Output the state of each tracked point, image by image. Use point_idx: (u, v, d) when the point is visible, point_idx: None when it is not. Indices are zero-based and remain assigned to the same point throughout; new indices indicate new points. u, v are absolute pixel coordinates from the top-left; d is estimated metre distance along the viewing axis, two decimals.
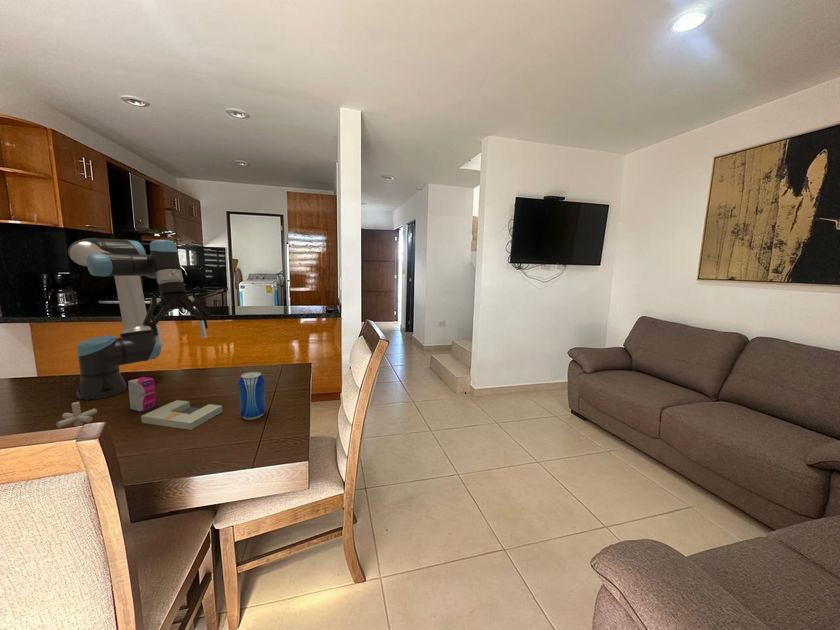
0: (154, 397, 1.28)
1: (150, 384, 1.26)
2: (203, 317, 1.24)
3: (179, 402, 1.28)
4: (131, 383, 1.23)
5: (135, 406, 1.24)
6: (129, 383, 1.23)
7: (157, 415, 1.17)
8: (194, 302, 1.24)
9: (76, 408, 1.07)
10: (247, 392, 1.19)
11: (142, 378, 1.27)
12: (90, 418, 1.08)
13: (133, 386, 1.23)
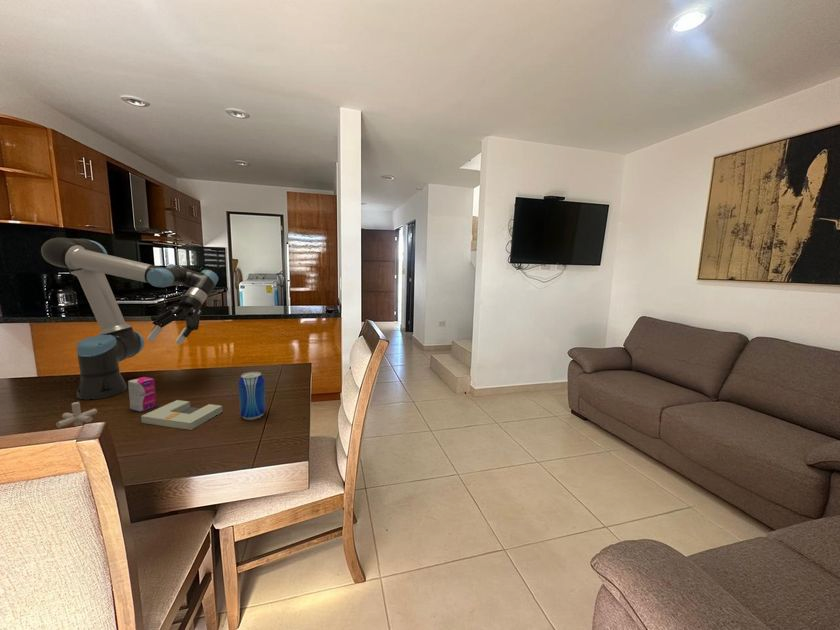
0: (154, 397, 1.28)
1: (150, 384, 1.26)
2: None
3: (179, 402, 1.28)
4: (131, 383, 1.23)
5: (135, 406, 1.24)
6: (129, 383, 1.23)
7: (157, 415, 1.17)
8: (171, 313, 1.43)
9: (76, 408, 1.07)
10: (247, 392, 1.19)
11: (142, 378, 1.27)
12: (90, 418, 1.08)
13: (133, 386, 1.23)
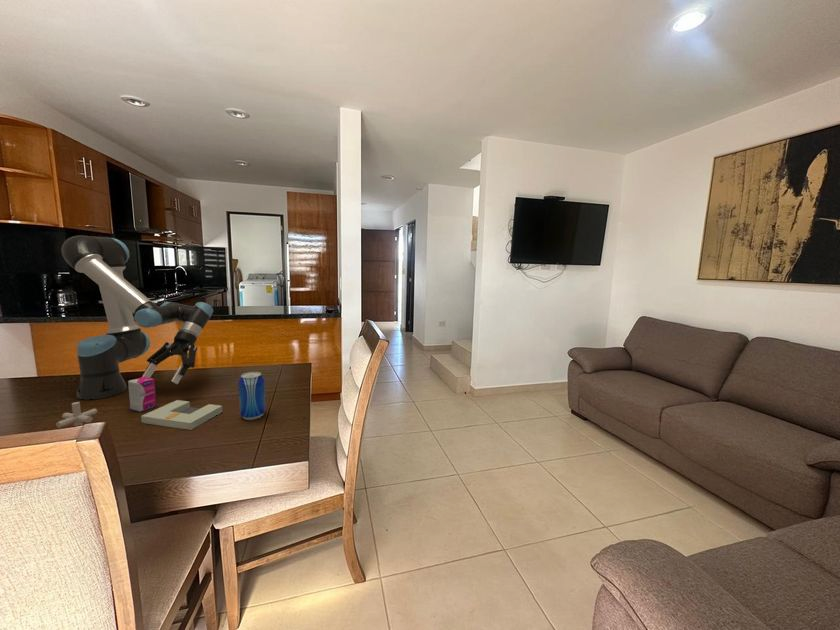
0: (154, 397, 1.28)
1: (150, 384, 1.26)
2: None
3: (179, 402, 1.28)
4: (131, 383, 1.23)
5: (135, 406, 1.24)
6: (129, 383, 1.23)
7: (157, 415, 1.17)
8: (166, 349, 1.39)
9: (76, 408, 1.07)
10: (247, 392, 1.19)
11: (142, 378, 1.27)
12: (90, 418, 1.08)
13: (133, 386, 1.23)
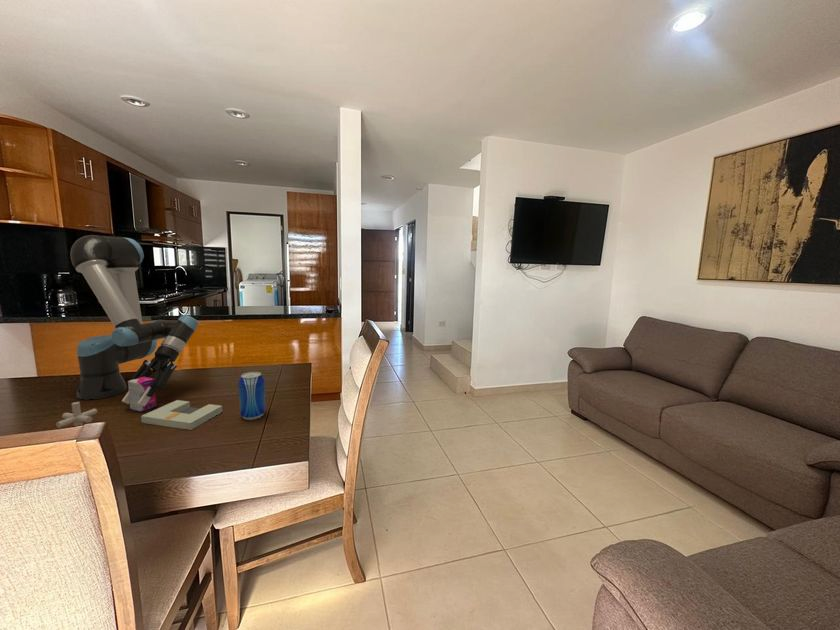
0: (154, 397, 1.28)
1: (150, 384, 1.26)
2: None
3: (179, 402, 1.28)
4: (131, 383, 1.23)
5: (135, 406, 1.24)
6: (129, 383, 1.23)
7: (157, 415, 1.17)
8: (146, 367, 1.33)
9: (76, 408, 1.07)
10: (247, 392, 1.19)
11: (142, 378, 1.27)
12: (90, 418, 1.08)
13: (133, 386, 1.23)
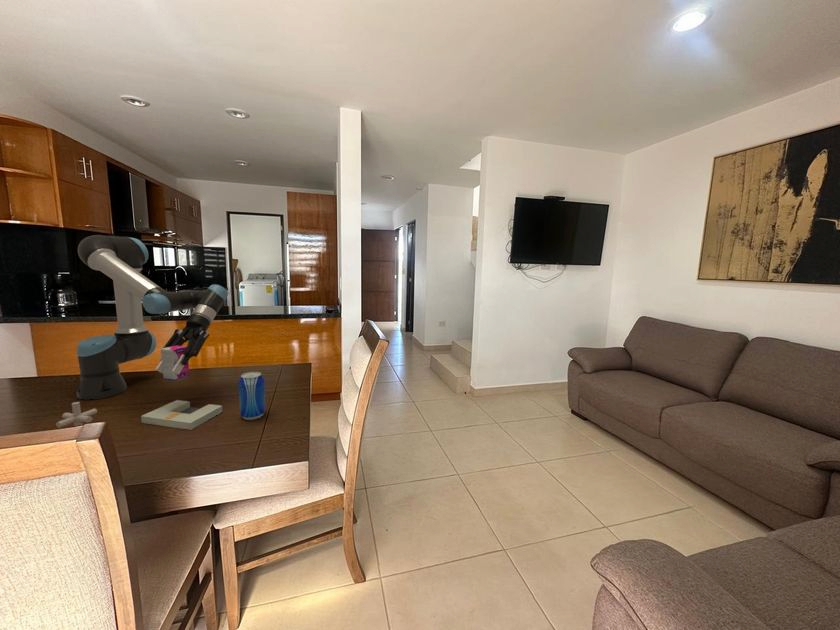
0: (187, 366, 1.23)
1: (183, 352, 1.21)
2: None
3: (179, 402, 1.28)
4: (164, 350, 1.18)
5: (169, 375, 1.19)
6: (162, 351, 1.19)
7: (157, 415, 1.17)
8: (178, 336, 1.28)
9: (76, 408, 1.07)
10: (247, 392, 1.19)
11: (174, 346, 1.22)
12: (90, 418, 1.08)
13: (166, 354, 1.18)
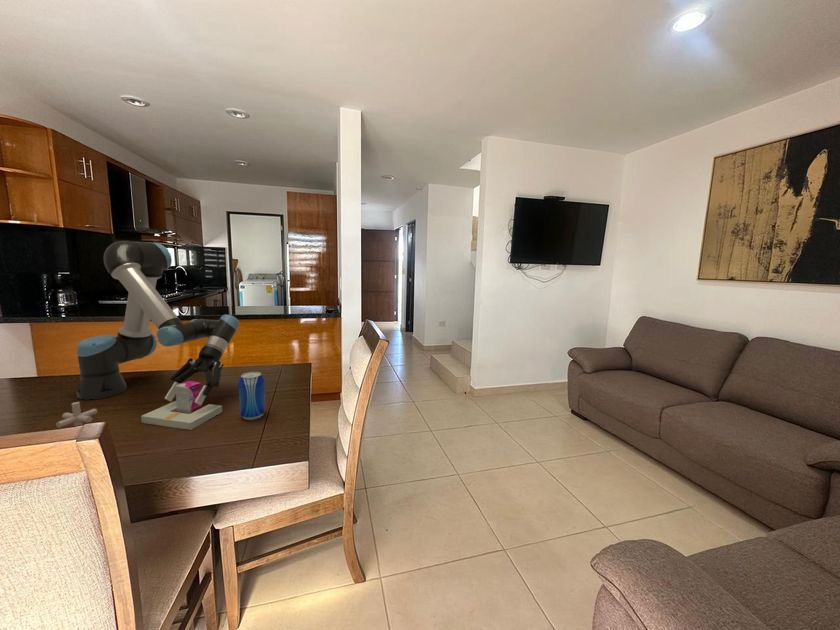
0: None
1: (198, 388, 1.23)
2: None
3: None
4: (179, 387, 1.20)
5: (183, 411, 1.21)
6: (177, 388, 1.20)
7: (157, 415, 1.17)
8: (190, 365, 1.30)
9: (76, 408, 1.07)
10: (247, 392, 1.19)
11: (188, 382, 1.23)
12: (90, 418, 1.08)
13: (181, 391, 1.20)
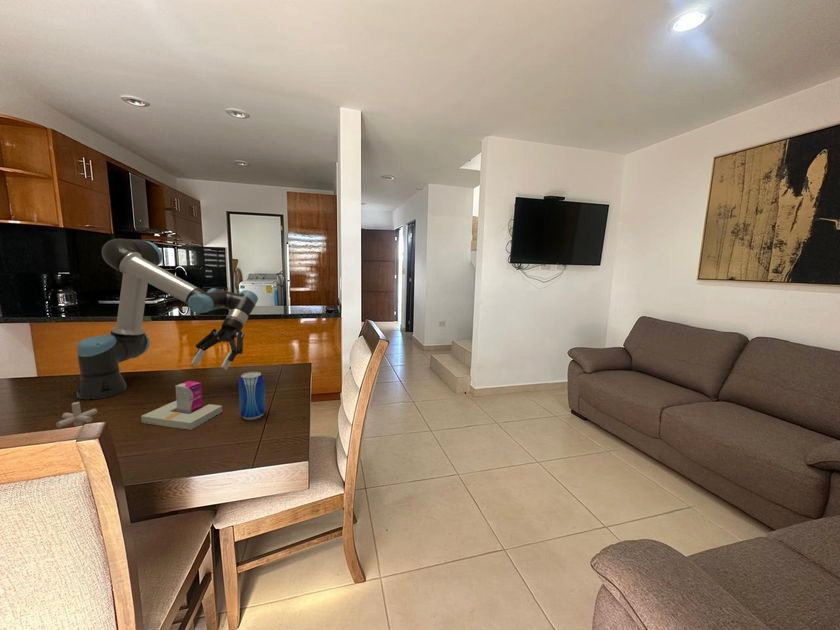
0: (201, 401, 1.25)
1: (198, 388, 1.23)
2: None
3: None
4: (179, 387, 1.20)
5: (183, 411, 1.21)
6: (177, 388, 1.20)
7: (157, 415, 1.17)
8: (213, 335, 1.40)
9: (76, 408, 1.07)
10: (247, 392, 1.19)
11: (188, 382, 1.23)
12: (90, 418, 1.08)
13: (181, 391, 1.20)
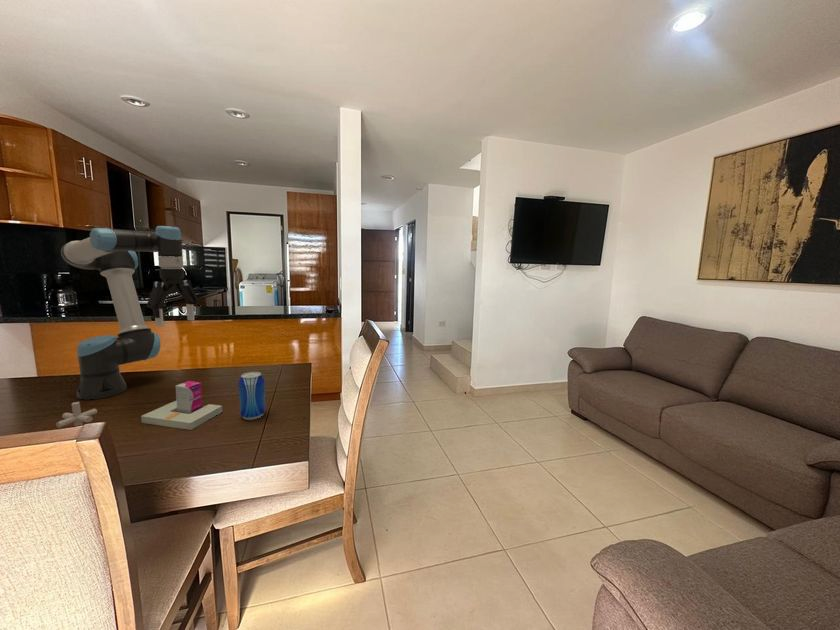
0: (201, 401, 1.25)
1: (198, 388, 1.23)
2: (193, 301, 1.36)
3: None
4: (179, 387, 1.20)
5: (183, 411, 1.21)
6: (177, 388, 1.20)
7: (157, 415, 1.17)
8: (186, 286, 1.34)
9: (76, 408, 1.07)
10: (247, 392, 1.19)
11: (188, 382, 1.23)
12: (90, 418, 1.08)
13: (181, 391, 1.20)
